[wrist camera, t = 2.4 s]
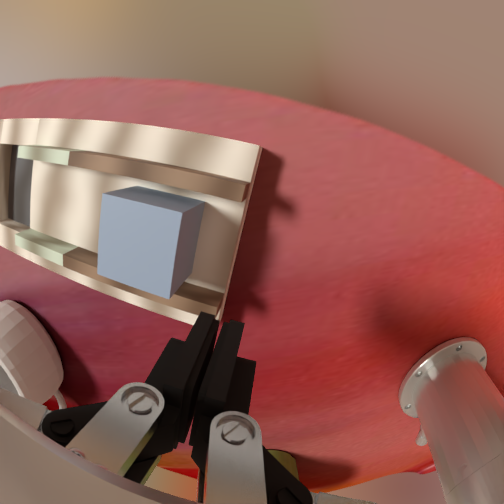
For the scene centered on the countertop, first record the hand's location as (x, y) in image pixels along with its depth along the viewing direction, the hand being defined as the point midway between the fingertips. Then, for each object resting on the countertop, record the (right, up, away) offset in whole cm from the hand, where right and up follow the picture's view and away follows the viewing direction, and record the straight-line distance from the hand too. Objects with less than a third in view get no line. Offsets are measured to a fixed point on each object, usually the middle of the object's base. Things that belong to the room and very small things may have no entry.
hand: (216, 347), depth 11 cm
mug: (-33, -13, +24) cm, 43 cm away
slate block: (-6, +5, +12) cm, 15 cm away
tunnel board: (-16, +9, +15) cm, 24 cm away
